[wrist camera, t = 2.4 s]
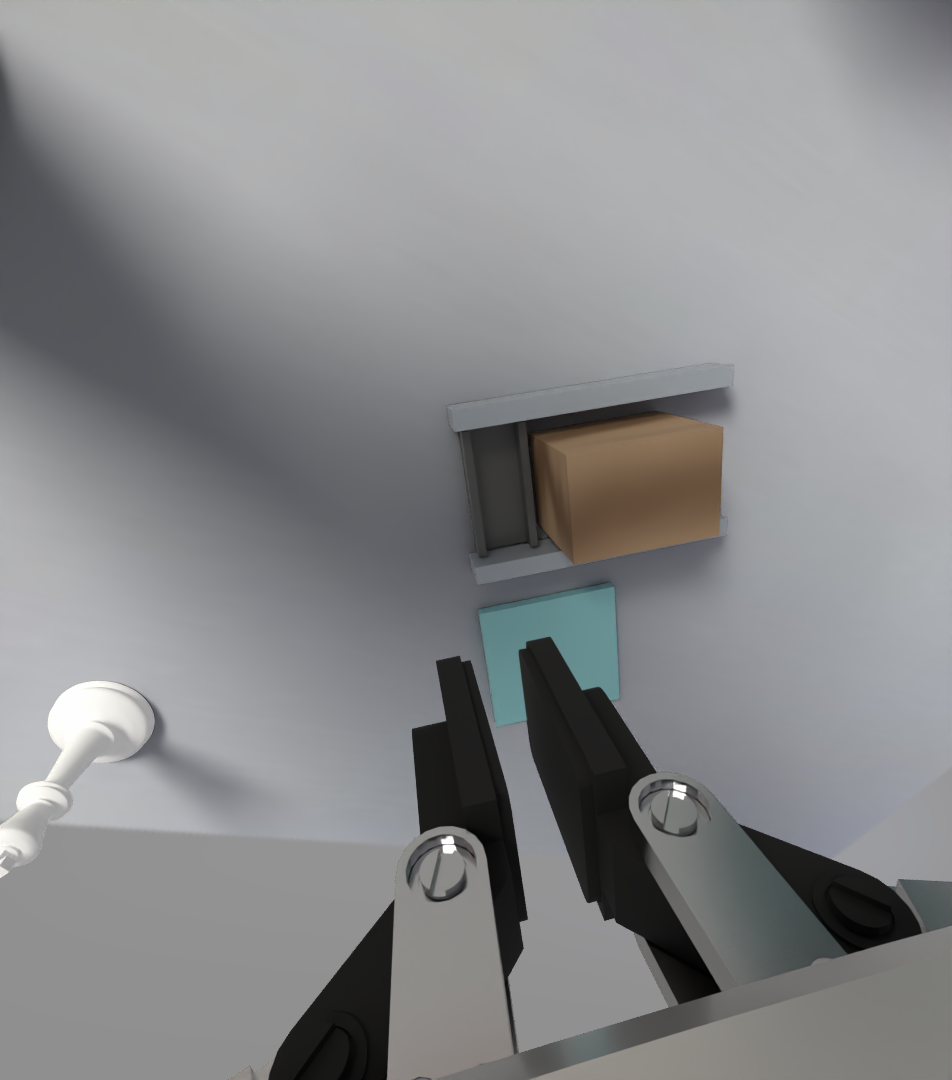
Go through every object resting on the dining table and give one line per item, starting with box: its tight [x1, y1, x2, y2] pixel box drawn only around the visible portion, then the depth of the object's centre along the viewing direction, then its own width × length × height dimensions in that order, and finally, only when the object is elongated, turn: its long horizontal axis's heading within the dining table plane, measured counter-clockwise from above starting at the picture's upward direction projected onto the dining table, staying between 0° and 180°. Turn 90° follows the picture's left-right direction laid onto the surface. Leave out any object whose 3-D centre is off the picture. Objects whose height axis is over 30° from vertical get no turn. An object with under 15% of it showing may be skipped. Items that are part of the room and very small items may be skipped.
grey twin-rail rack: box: [447, 363, 734, 585], centre depth 28 cm, size 9×14×2 cm, turn 98°
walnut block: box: [529, 411, 723, 565], centre depth 26 cm, size 5×7×6 cm
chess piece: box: [0, 681, 155, 878], centre depth 24 cm, size 5×5×10 cm
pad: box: [478, 582, 620, 727], centre depth 32 cm, size 8×8×1 cm
